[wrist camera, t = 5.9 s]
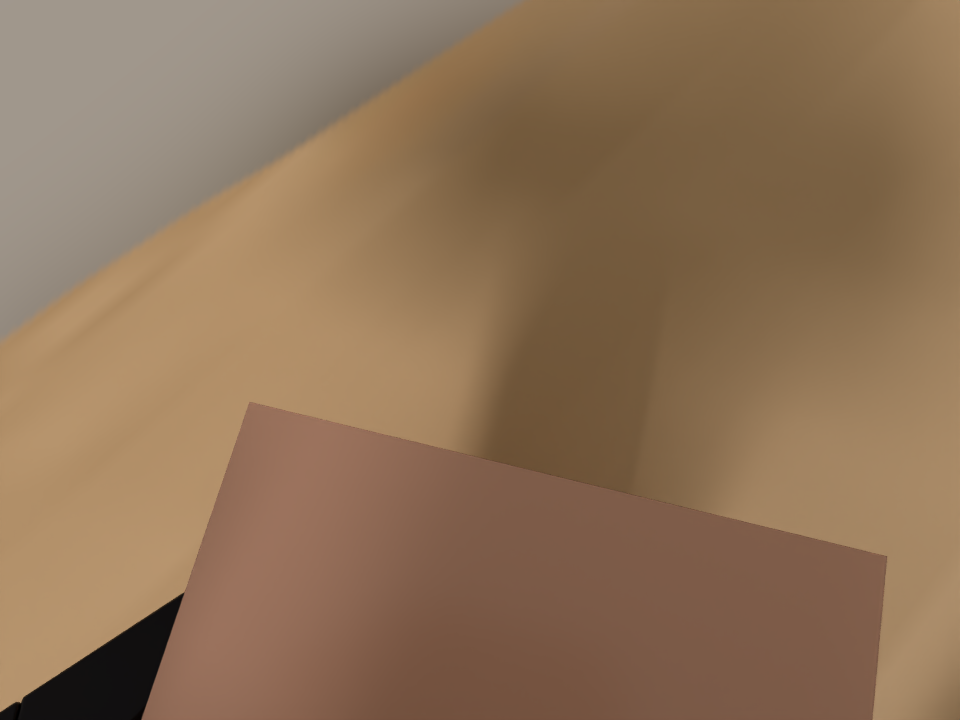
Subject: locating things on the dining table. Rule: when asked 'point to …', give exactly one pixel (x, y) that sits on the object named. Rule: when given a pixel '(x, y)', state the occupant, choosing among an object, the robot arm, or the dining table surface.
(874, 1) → the dining table surface
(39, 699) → the robot arm
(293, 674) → the reddish brown block
